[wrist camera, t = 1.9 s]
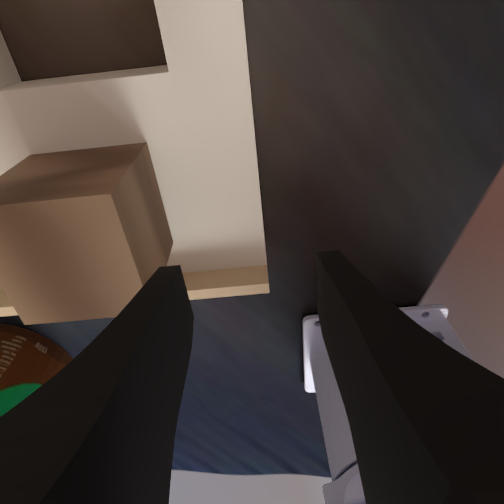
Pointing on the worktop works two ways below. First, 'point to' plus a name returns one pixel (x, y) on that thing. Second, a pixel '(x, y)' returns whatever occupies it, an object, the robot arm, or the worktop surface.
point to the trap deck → (165, 138)
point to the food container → (26, 363)
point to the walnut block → (80, 232)
